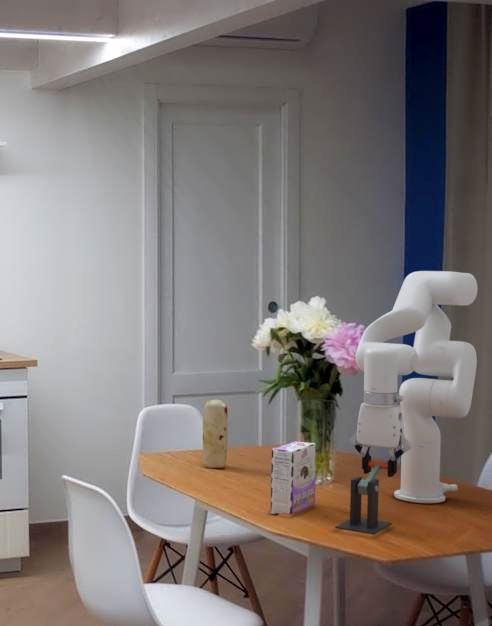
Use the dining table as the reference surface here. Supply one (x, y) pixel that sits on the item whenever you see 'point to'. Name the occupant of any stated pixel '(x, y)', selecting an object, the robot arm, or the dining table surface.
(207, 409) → the food model
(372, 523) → the two-post lever stand
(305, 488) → the candy box
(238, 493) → the dining table surface
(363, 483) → the switch lever
